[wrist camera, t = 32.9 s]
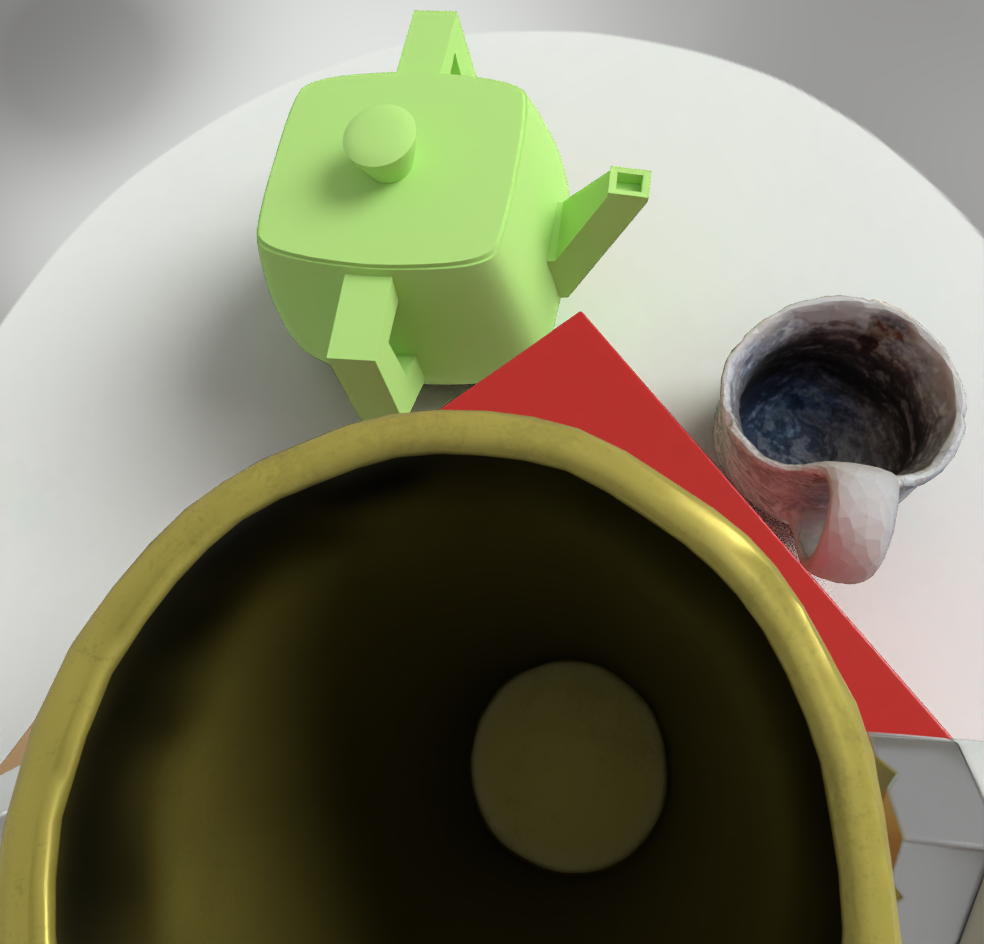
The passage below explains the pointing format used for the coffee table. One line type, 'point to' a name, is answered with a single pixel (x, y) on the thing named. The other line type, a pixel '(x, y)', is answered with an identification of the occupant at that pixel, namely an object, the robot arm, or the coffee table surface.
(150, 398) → the coffee table surface
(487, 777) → the vase
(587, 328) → the cabinet
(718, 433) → the mug
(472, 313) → the teapot
